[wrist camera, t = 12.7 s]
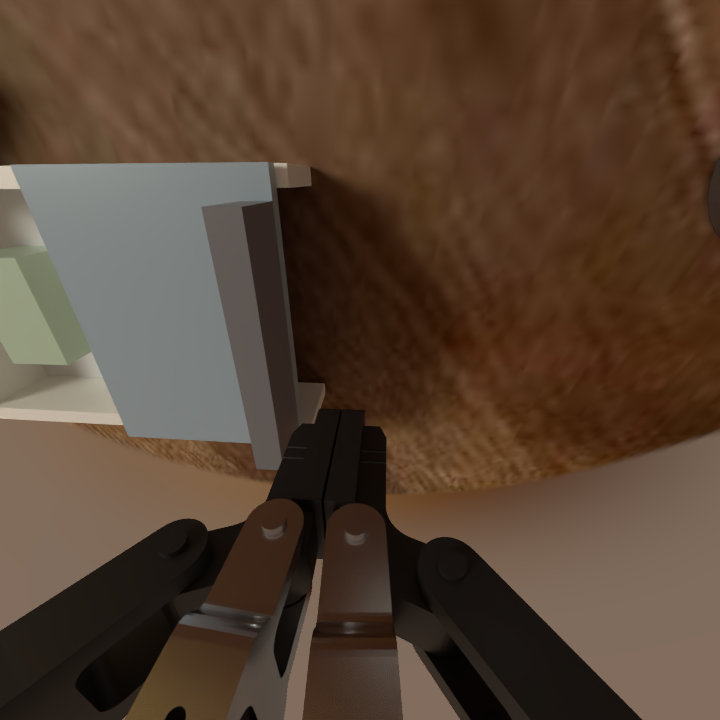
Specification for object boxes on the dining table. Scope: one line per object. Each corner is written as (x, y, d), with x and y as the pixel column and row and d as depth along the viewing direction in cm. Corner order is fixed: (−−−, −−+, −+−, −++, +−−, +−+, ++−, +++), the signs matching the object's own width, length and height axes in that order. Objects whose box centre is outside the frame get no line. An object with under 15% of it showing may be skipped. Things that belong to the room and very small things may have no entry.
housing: (310, 166, 20) (286, 163, 15) (325, 393, 27) (312, 435, 23) (-67, 169, 21) (-185, 167, 17) (46, 381, 29) (-15, 417, 25)
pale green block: (73, 245, 22) (14, 257, 19) (112, 339, 26) (68, 365, 22) (19, 245, 23) (-49, 257, 19) (64, 338, 26) (13, 363, 23)
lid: (273, 163, 15) (233, 157, 11) (304, 437, 23) (286, 489, 19) (26, 165, 16) (-88, 161, 12) (136, 428, 23) (87, 476, 20)
